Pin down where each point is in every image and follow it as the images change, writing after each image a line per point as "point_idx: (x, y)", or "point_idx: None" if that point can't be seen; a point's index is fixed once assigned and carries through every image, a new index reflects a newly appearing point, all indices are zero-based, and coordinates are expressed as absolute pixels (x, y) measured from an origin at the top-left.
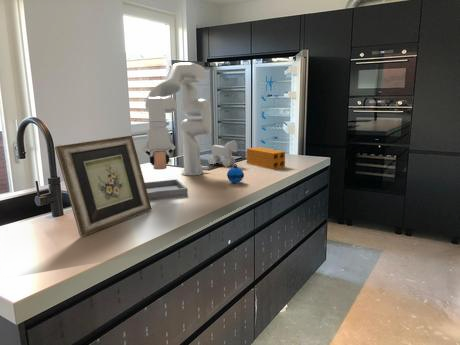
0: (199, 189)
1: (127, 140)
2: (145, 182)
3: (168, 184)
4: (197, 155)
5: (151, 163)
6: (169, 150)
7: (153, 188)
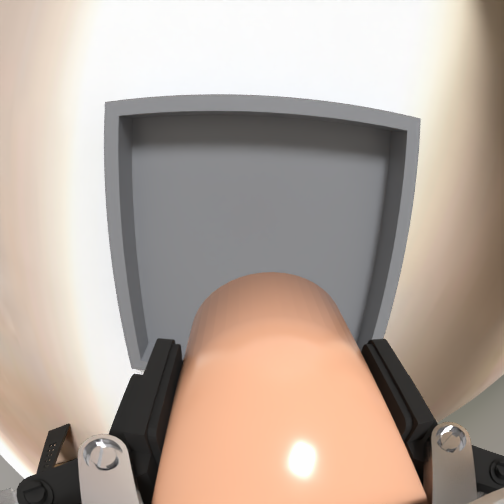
0: (454, 263)
1: None
2: (168, 97)
3: (344, 122)
4: None
5: (157, 350)
6: (479, 484)
7: (222, 155)
